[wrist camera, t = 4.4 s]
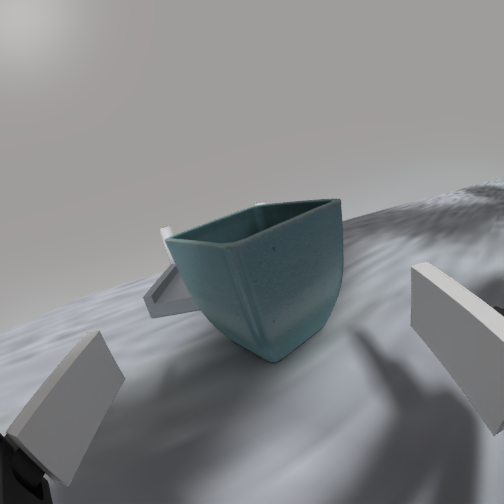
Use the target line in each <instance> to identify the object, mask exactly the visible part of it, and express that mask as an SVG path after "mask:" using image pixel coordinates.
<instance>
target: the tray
mask: <svg viewBox="0 0 504 504" xmlns="http://www.w3.org/2000/svg"><path fill="white" fill-rule="evenodd" d="M262 204H266V202H259V203H256V204H254V206H256V205H262ZM160 232H161V236H162V239H163V242H164V245H165V248H166V251H167V255H168V258H169V261H170V264H171V265H170V266H169V268H168V269H167V270H166V271H165V272H164V273H163V274H162V276H161V277H160V278H159V279H158V280H157V281H156V283H155V284H154V285H153V286H152V287H151V288H150V290H149V291H148V292H147V293H146V294H145V296H144V297H143V298H144V301H145V303H146V306H147V308H148V311H149V313H150V316H151V318H156V317H162V316H168V315H174V314H179V313H185V312H191V311H196V310H200V309H199V307H198V306H197V304H196V303H195V302H194V300H193V298H192V296H191V295H190V293H189V291H188V289H187V287H186V285H185V283H184V281H183V279H182V277H181V275H180V273H179V271H178V268H177V266H176V264H175V262H174V260H173V258H172V255H171V253H170V251H169V249H168V247H167V244H166V242H165V239H166V238H169V237H171V236H173V232H172V229H171V226H166V227H163V228H161V229H160Z"/></svg>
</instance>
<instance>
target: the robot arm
mask: <svg viewBox="0 0 504 504" xmlns="http://www.w3.org/2000/svg"><path fill="white" fill-rule="evenodd" d="M411 327H412V328H413V329H414V330H415V331H416V332H417V334H418V335H419V336H420V337H421V339H422V340H423V341H424V342H425V343H426V345H427V346H428V347H429V348H430V350H431V351H432V352H433V353H434V355H435V356H436V357H437V358H438V360H439V361H440V362H441V363H442V365H443V366H444V367H445V368H446V370H447V371H448V372H449V374H450V375H451V376H452V378H453V379H454V380H455V382H456V383H457V384H458V386H459V387H460V388H461V390H462V391H463V392H464V394H465V395H466V397H467V398H468V399H469V401H470V402H471V403H472V405H473V406H474V408H475V409H476V411H477V412H478V413H479V415H480V416H481V418H482V419H483V421H484V422H485V424H486V425H487V427H488V428H489V430H490V431H491V433H492V434H493V436H495V435H496V434H498V433H499V432H501V431H502V430H503V429H504V309H502V308H499V307H496V306H495V307H493V308H492V307H491V306H489V305H488V304H487V303H485V302H484V301H483V300H481V299H480V298H479V297H477V296H476V295H474V294H473V293H472V292H470V291H469V290H468V289H466V288H465V287H463V286H462V285H460V284H459V283H458V282H456V281H455V280H453V279H452V278H450V277H449V276H447V275H446V274H444V273H443V272H441V271H440V270H438V269H437V268H435V267H434V266H432V265H431V264H429V263H428V262H424V263H420V264H417V265H414V266H411ZM124 380H125V377H124V375H123V374H122V372H121V370H120V369H119V367H118V365H117V363H116V361H115V360H114V358H113V356H112V354H111V352H110V350H109V349H108V347H107V345H106V343H105V341H104V339H103V337H102V335H101V333H100V331H95V332H87V334H86V335H85V336H84V337H83V338H82V339H81V340H80V341H79V342H78V344H77V345H76V346H75V347H74V348H73V349H72V350H71V351H70V353H69V354H68V355H67V356H66V357H65V358H64V359H63V361H62V362H61V363H60V364H59V365H58V366H57V368H56V369H55V370H54V371H53V372H52V374H51V375H50V376H49V377H48V378H47V380H46V381H45V382H44V383H43V384H42V386H41V387H40V388H39V389H38V391H37V392H36V393H35V394H34V396H33V397H32V398H31V399H30V401H29V402H28V403H27V404H26V406H25V407H24V408H23V410H22V411H21V412H20V413H19V415H18V416H17V417H16V419H15V420H14V421H13V423H12V424H11V425H10V427H9V428H8V429H7V431H6V433H7V434H6V435H5V437H3V436H2V435H1V433H0V504H53V502H52V498H51V493H50V488H49V484H48V481H47V480H46V479H45V478H44V477H43V476H44V474H45V473H46V474H47V475H48V476H49V477H50V478H52V479H53V480H54V481H55V482H57V483H59V484H62V485H64V486H67V487H69V486H70V484H71V482H72V480H73V478H74V476H75V474H76V472H77V470H78V468H79V466H80V463H81V461H82V459H83V457H84V455H85V453H86V451H87V449H88V448H89V446H90V444H91V442H92V440H93V438H94V436H95V434H96V432H97V430H98V428H99V426H100V424H101V422H102V421H103V419H104V417H105V415H106V413H107V411H108V409H109V408H110V406H111V404H112V402H113V400H114V398H115V397H116V395H117V393H118V391H119V389H120V387H121V386H122V384H123V382H124Z"/></svg>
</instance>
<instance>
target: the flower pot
mask: <svg viewBox="0 0 504 504" xmlns="http://www.w3.org/2000/svg"><path fill="white" fill-rule="evenodd" d="M165 242H166V244H167V247H168V249H169V251H170V253H171V255H172V258H173V260H174V262H175V264H176V266H177V268H178V271H179V273H180V275H181V277H182V279H183V281H184V283H185V285H186V287H187V289H188V291H189V293H190V295H191V296H192V298H193V300H194V302H195V303H196V304H197V306H198V307H199V309H200V310H201V311H202V313H203V314H204V315H205V316H206V317H207V318H208V319H209V320H210V322H211V323H212V324H213V325H214V326H216V327H217V328H218V329H219V330H220V331H221V332H222V333H224V334H225V335H226V336H227V337H229V338H230V339H231V340H232V341H234V342H235V343H237V344H239V345H241V346H242V347H244V348H246V349H248V350H250V351H251V352H253V353H255V354H256V355H258V356H260V357H262V358H263V359H265V360H267V361H269V362H278V361H280V360H281V359H283V358H284V357H285V356H287V355H288V354H289V353H290V352H292V351H293V350H294V349H296V348H297V347H298V346H299V345H301V344H302V343H303V342H305V341H306V340H307V339H308V338H310V337H311V336H312V335H314V334H315V333H316V332H318V331H319V330H320V329H321V328H322V327H323V326H324V325H325V323H326V321H327V319H328V317H329V316H330V314H331V312H332V310H333V307H334V305H335V303H336V300H337V297H338V294H339V291H340V287H341V282H342V276H343V228H342V213H341V200H340V199H320V200H308V201H295V202H284V203H273V204H262V205H256V206H253V207H250V208H247V209H244V210H241V211H238V212H235V213H233V214H230V215H227V216H224V217H221V218H218V219H216V220H213V221H210V222H208V223H205V224H202V225H200V226H197V227H194V228H192V229H189V230H186V231H184V232H181V233H178V234H176V235H173V236H171V237H169V238H166V239H165Z"/></svg>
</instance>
